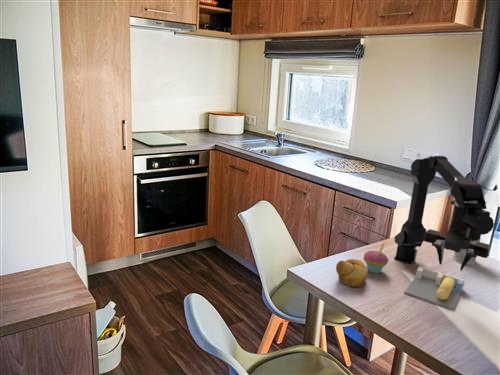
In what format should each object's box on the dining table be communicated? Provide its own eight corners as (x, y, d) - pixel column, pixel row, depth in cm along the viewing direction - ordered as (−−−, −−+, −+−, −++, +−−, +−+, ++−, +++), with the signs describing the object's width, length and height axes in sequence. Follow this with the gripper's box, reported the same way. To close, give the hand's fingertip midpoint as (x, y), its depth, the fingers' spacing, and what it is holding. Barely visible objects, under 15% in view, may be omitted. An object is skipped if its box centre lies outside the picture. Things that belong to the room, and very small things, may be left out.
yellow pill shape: (446, 303, 133) (448, 293, 132) (434, 299, 135) (436, 289, 134) (454, 287, 144) (456, 277, 143) (443, 283, 146) (445, 274, 145)
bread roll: (346, 269, 152) (349, 249, 150) (372, 278, 147) (376, 257, 145) (331, 282, 142) (334, 260, 140) (359, 292, 137) (363, 270, 134)
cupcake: (390, 271, 153) (395, 240, 150) (379, 278, 147) (384, 246, 144) (368, 262, 159) (373, 232, 156) (357, 269, 153) (362, 238, 150)
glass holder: (479, 261, 168) (488, 226, 163) (465, 271, 158) (474, 233, 154) (456, 253, 174) (464, 219, 169) (442, 262, 164) (450, 226, 160)
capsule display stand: (404, 293, 138) (405, 283, 137) (417, 275, 152) (419, 265, 151) (453, 310, 130) (455, 300, 129) (462, 289, 144) (465, 280, 143)
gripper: (423, 220, 131) (414, 266, 135) (491, 237, 121) (479, 286, 125) (431, 212, 140) (423, 255, 144) (495, 227, 130) (484, 273, 134)
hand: (450, 267), depth 137 cm, fingers open, 6 cm apart
